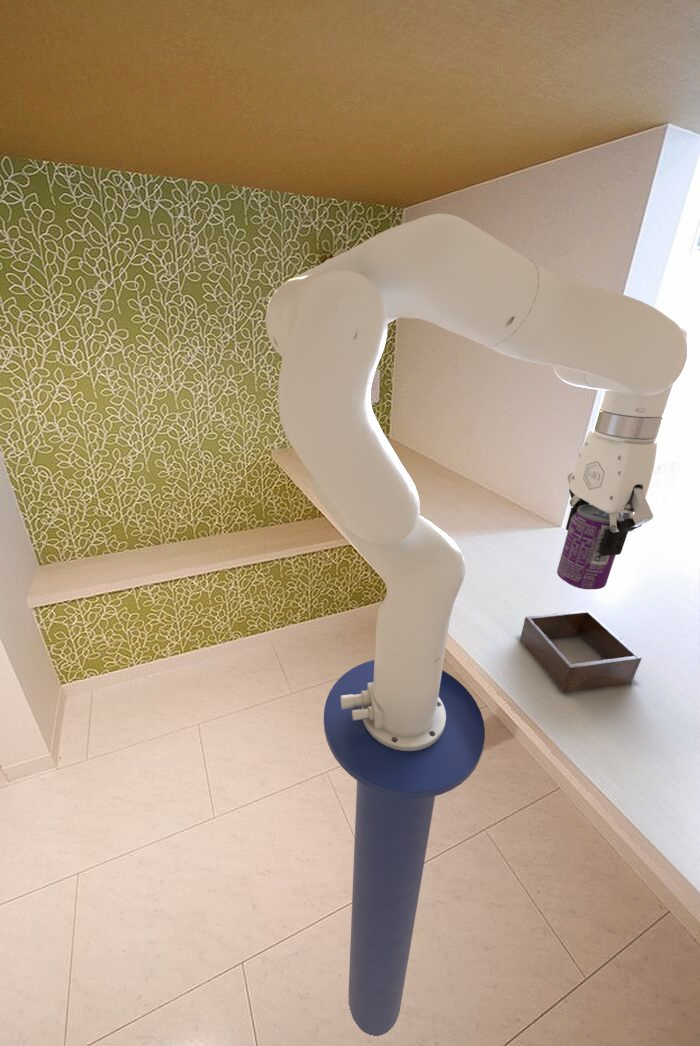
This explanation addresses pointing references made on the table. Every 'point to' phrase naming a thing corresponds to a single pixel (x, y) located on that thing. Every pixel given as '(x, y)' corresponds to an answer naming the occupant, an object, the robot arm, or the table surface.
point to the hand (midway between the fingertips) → (591, 540)
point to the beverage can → (586, 549)
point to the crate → (615, 652)
